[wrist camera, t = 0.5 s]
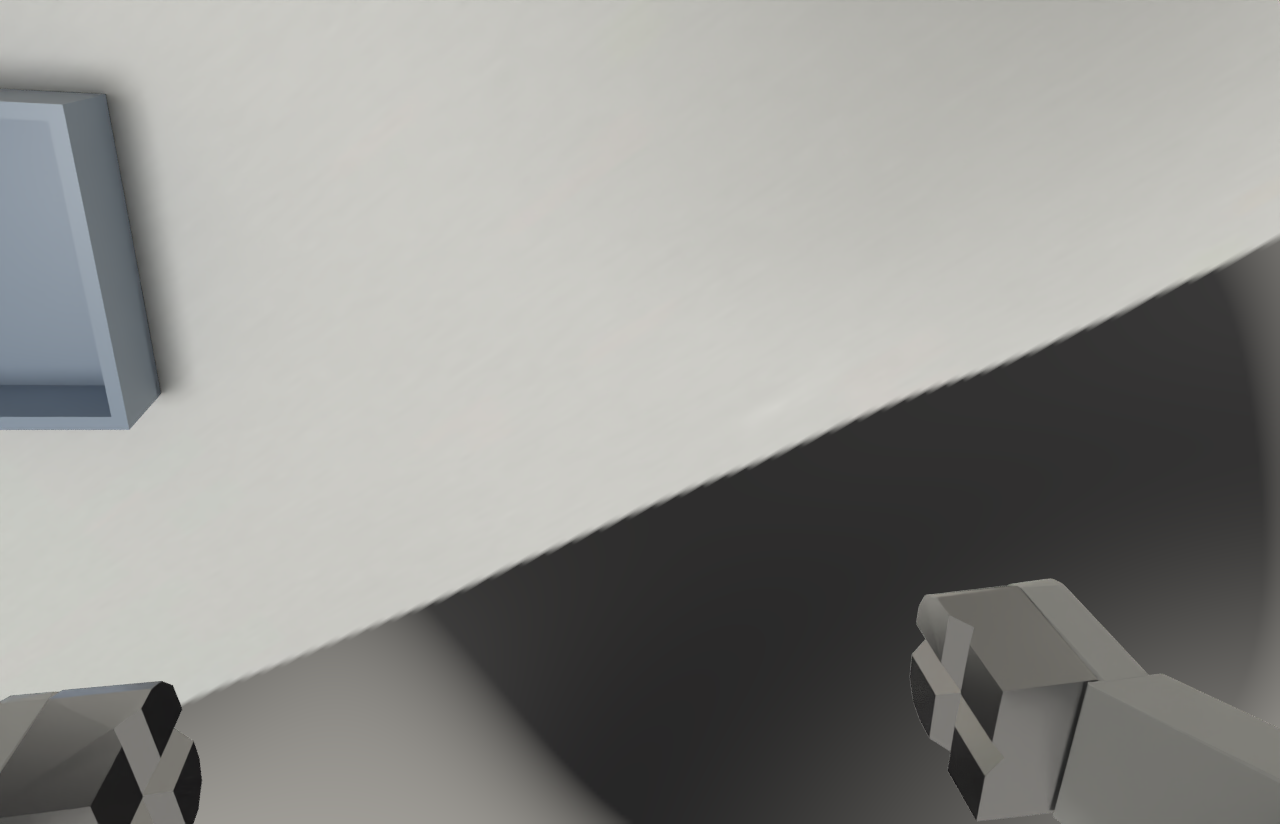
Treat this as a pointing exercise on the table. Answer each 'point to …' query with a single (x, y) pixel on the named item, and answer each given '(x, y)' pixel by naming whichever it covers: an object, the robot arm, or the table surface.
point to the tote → (67, 271)
